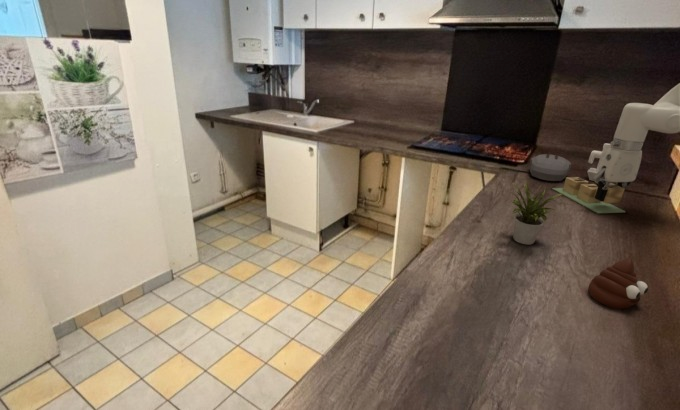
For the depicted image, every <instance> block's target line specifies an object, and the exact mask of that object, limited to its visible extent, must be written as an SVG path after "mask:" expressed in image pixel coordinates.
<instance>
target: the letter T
mask: <svg viewBox="0 0 680 410" xmlns="http://www.w3.org/2000/svg"><path fill="white" fill-rule="evenodd" d="M603 183H604V184H605V182H603ZM597 189H598V187H597ZM606 190H608V191H607V193H606V196H605V199H604V201H602V202H604V203H609V204H620V202H621V201H622V197H623V196H624V195H623V194H624V192H625V190H626V189H624V188H622V187H620V186H617V185H616V183H614V182H610V184H609V186H608V187H607V189H606ZM596 192H597V190H596ZM595 195H596V193H595ZM594 198H595V196H594Z"/></svg>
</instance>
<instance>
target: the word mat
mask: <svg viewBox="0 0 680 410" xmlns="http://www.w3.org/2000/svg"><path fill="white" fill-rule="evenodd" d="M551 190H553V191H555V192H556V193H557V194H563V195H562V196H564V197H566V198H567V199H570V200H571V201H573V202H575V203H577V204H579V205H581V206H583V207H584V208H586V209H588V210H590V211H592V212H594V213H596V214H597V215H598V214H599V215H600V214H618V213H619V214H620V213H621V214H623V213H626V211H625V209H622V208H619V207H618V206H615V205H613V204H612V203H604V202H602V201H601V202H598V203H587V202H585V201H583V200H581V199H579V198H577V195H571V194H569V193H567V192H565V191H563V187H552V188H551Z"/></svg>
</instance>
